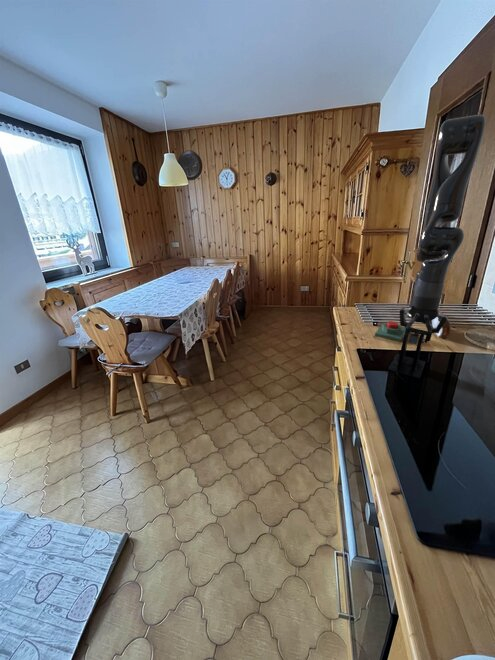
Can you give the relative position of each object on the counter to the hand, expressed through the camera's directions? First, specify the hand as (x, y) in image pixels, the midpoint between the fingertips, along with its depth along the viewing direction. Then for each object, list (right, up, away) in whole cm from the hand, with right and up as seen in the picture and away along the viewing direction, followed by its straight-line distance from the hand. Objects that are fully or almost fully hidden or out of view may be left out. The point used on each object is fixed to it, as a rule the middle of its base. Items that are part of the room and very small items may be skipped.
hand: (416, 339), depth 97 cm
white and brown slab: (+17, +2, +15) cm, 22 cm away
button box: (-1, +1, +15) cm, 15 cm away
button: (-1, +4, +14) cm, 15 cm away
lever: (-4, 0, -5) cm, 7 cm away
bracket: (-6, -9, -5) cm, 12 cm away
